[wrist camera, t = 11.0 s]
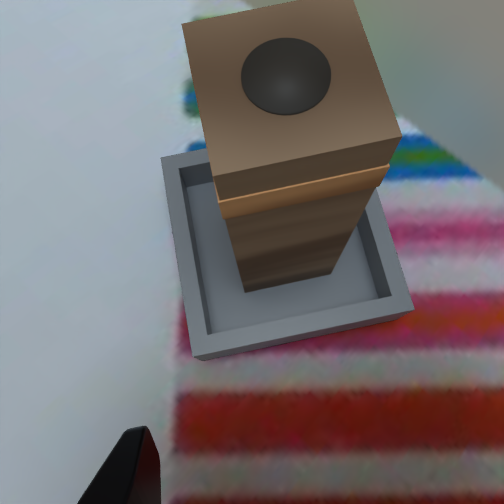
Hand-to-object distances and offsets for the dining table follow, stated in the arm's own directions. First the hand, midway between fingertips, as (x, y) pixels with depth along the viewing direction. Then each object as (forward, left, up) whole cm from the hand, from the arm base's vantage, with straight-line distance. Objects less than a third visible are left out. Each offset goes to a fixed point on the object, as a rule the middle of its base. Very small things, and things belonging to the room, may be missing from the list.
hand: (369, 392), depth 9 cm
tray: (+8, 0, -14) cm, 16 cm away
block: (+8, 0, -13) cm, 15 cm away
